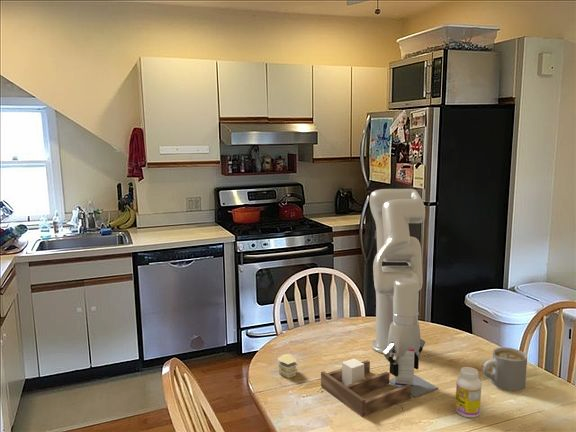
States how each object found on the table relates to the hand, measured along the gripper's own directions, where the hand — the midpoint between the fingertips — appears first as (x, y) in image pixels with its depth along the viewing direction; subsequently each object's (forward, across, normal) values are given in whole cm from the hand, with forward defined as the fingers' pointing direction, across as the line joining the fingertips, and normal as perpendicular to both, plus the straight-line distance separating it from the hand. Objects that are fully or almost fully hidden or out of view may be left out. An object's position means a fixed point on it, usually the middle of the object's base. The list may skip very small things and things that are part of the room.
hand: (404, 370), depth 152 cm
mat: (+6, -4, 0) cm, 7 cm away
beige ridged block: (+6, +26, -28) cm, 39 cm away
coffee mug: (+6, -29, +15) cm, 33 cm away
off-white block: (+6, +13, -9) cm, 17 cm away
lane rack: (+6, +12, -4) cm, 14 cm away
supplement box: (+4, 0, 0) cm, 4 cm away
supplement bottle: (+6, -6, +20) cm, 22 cm away
